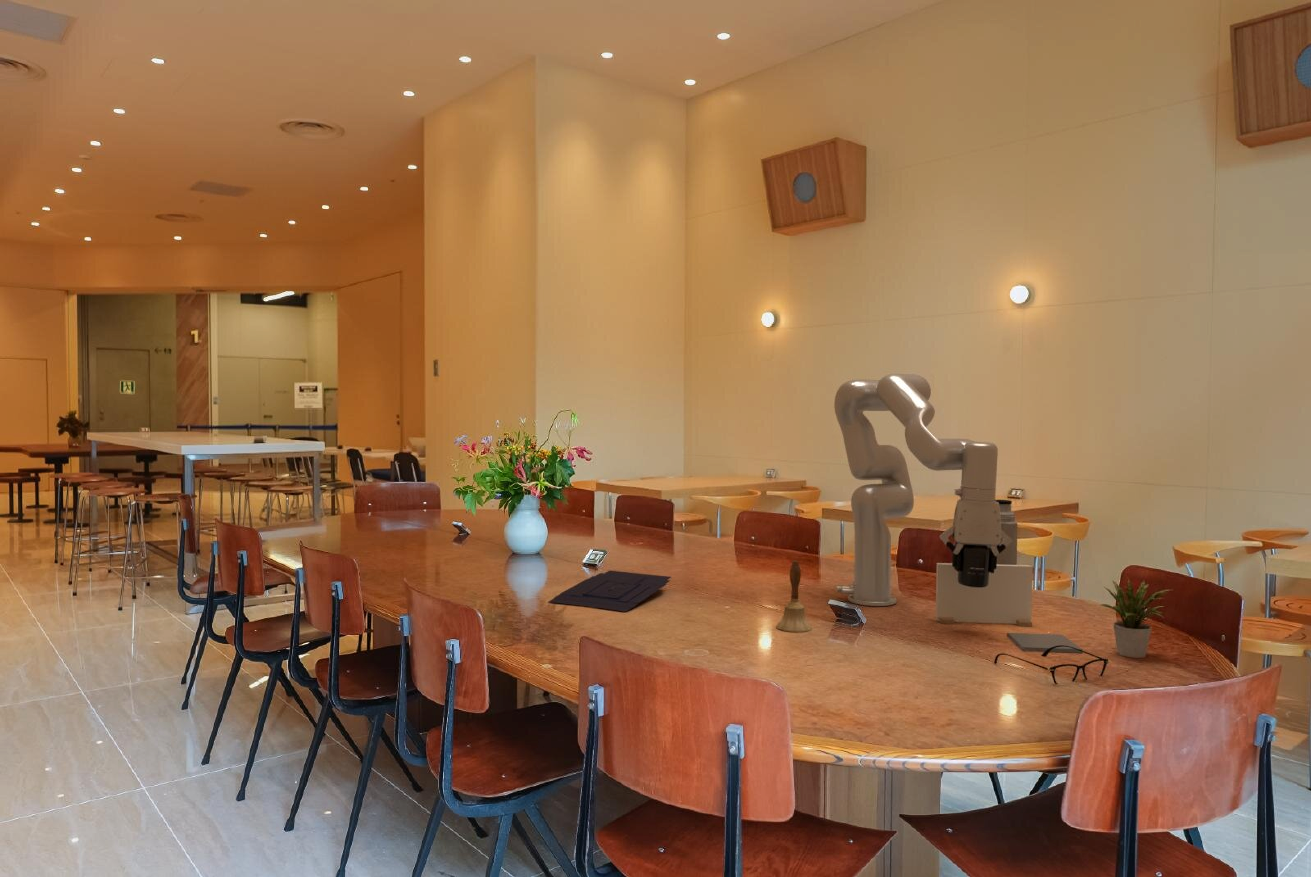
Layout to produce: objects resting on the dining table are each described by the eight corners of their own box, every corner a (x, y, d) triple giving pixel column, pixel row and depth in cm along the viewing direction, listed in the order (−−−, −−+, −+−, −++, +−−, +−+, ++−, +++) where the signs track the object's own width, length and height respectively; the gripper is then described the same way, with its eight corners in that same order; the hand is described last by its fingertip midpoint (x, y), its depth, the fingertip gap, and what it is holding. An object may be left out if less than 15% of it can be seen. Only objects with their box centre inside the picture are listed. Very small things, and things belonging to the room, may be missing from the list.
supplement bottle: (974, 589, 194) (976, 537, 193) (951, 582, 200) (953, 532, 199) (995, 586, 197) (998, 535, 196) (972, 580, 203) (974, 530, 202)
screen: (939, 623, 205) (939, 565, 205) (934, 617, 211) (934, 561, 211) (1034, 626, 203) (1035, 568, 202) (1026, 620, 208) (1027, 563, 208)
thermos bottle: (979, 601, 229) (981, 498, 228) (1010, 602, 228) (1012, 498, 227) (988, 608, 221) (990, 501, 220) (1020, 609, 220) (1022, 501, 219)
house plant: (1172, 670, 168) (1174, 588, 168) (1094, 659, 176) (1095, 581, 175) (1173, 653, 181) (1175, 576, 180) (1100, 643, 188) (1101, 570, 187)
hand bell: (815, 626, 203) (816, 559, 202) (806, 634, 195) (807, 565, 195) (782, 622, 206) (782, 556, 206) (771, 630, 199) (772, 562, 198)
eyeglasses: (1050, 688, 158) (1050, 667, 158) (986, 665, 173) (987, 645, 173) (1113, 678, 165) (1113, 657, 165) (1046, 656, 179) (1047, 637, 179)
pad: (1023, 650, 182) (1023, 647, 182) (1007, 636, 194) (1007, 632, 194) (1082, 653, 180) (1082, 649, 180) (1062, 638, 192) (1062, 634, 192)
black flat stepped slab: (678, 586, 242) (677, 574, 241) (627, 622, 215) (626, 608, 215) (604, 578, 253) (603, 566, 252) (547, 611, 226) (546, 598, 226)
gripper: (942, 495, 194) (938, 572, 195) (1022, 499, 192) (1017, 576, 193) (935, 491, 201) (932, 565, 203) (1012, 494, 199) (1008, 569, 201)
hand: (973, 570), depth 198 cm, fingers closed on supplement bottle, 6 cm apart
